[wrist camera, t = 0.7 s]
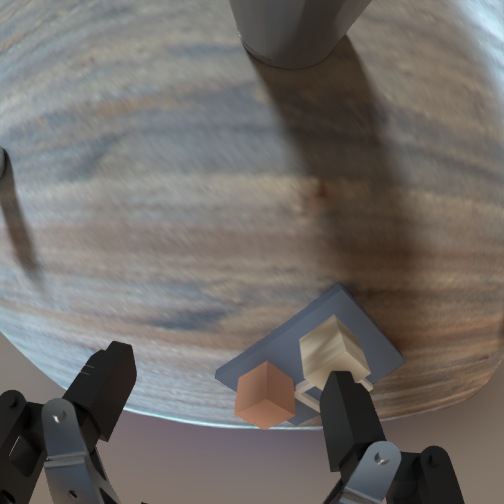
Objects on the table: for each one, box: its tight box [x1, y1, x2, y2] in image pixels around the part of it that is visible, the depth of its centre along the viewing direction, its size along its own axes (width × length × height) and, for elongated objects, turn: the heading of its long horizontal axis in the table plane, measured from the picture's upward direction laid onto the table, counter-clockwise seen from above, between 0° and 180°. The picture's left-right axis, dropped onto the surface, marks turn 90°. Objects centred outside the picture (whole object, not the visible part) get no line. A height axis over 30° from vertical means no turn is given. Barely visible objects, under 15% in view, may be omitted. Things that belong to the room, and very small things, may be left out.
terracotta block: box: [234, 361, 296, 430], centre depth 30 cm, size 5×5×6 cm
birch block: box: [299, 314, 371, 391], centre depth 27 cm, size 5×5×6 cm
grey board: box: [215, 282, 406, 425], centre depth 32 cm, size 20×17×2 cm
